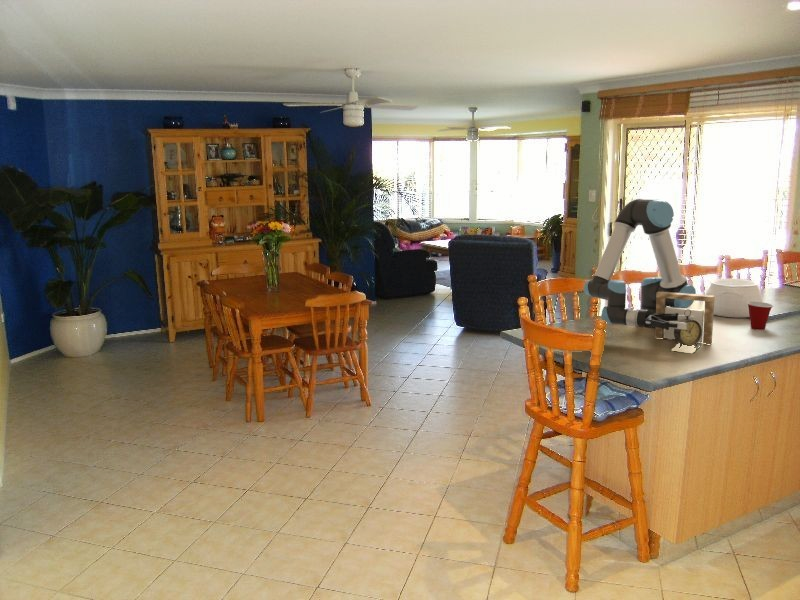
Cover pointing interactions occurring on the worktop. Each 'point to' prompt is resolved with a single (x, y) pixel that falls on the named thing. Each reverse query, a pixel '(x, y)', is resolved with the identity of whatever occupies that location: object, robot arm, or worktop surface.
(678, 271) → the robot arm
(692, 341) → the alarm clock
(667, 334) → the door
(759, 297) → the white pet bowl
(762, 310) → the plastic cup
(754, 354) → the worktop surface
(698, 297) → the door frame
